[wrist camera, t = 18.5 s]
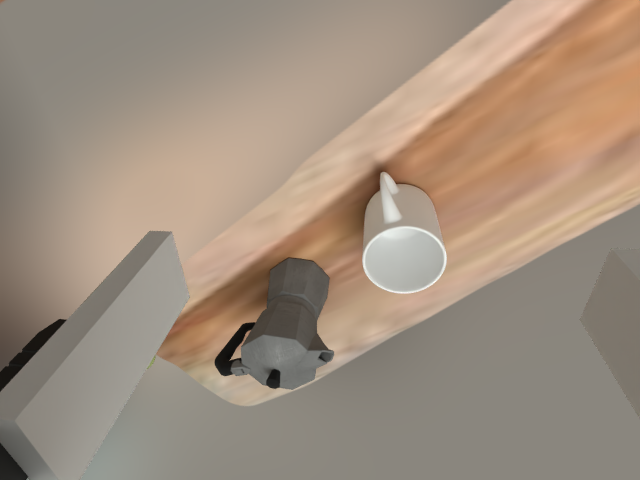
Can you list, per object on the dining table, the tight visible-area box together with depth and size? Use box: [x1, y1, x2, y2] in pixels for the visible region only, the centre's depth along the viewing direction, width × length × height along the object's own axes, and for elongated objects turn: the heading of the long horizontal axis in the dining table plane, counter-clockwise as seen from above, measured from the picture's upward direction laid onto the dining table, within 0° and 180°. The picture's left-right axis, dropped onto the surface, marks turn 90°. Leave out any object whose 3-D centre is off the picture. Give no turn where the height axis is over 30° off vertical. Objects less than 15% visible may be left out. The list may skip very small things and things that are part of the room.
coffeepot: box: [215, 258, 334, 390], centre depth 51 cm, size 15×9×18 cm, turn 108°
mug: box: [362, 172, 447, 294], centre depth 45 cm, size 9×12×11 cm
